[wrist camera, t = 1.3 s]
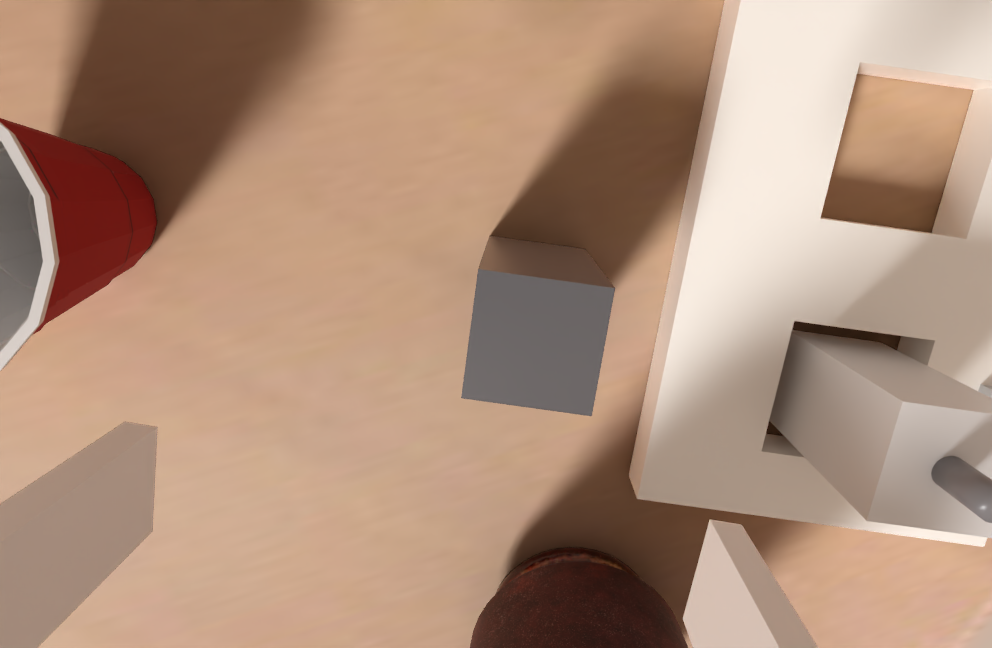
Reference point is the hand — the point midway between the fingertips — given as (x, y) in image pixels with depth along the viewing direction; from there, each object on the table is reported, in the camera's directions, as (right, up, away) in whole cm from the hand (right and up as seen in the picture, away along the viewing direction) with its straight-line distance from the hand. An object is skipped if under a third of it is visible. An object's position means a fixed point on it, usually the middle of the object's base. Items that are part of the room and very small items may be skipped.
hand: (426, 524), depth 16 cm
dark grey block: (+3, +6, +17) cm, 18 cm away
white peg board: (+19, +7, +16) cm, 26 cm away
